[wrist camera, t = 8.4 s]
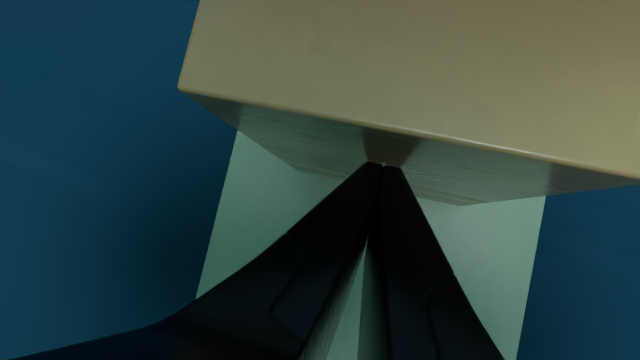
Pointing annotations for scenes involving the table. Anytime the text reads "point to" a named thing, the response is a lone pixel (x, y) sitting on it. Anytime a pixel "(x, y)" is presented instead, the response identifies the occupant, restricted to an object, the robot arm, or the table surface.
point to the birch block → (430, 89)
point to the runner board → (308, 190)
